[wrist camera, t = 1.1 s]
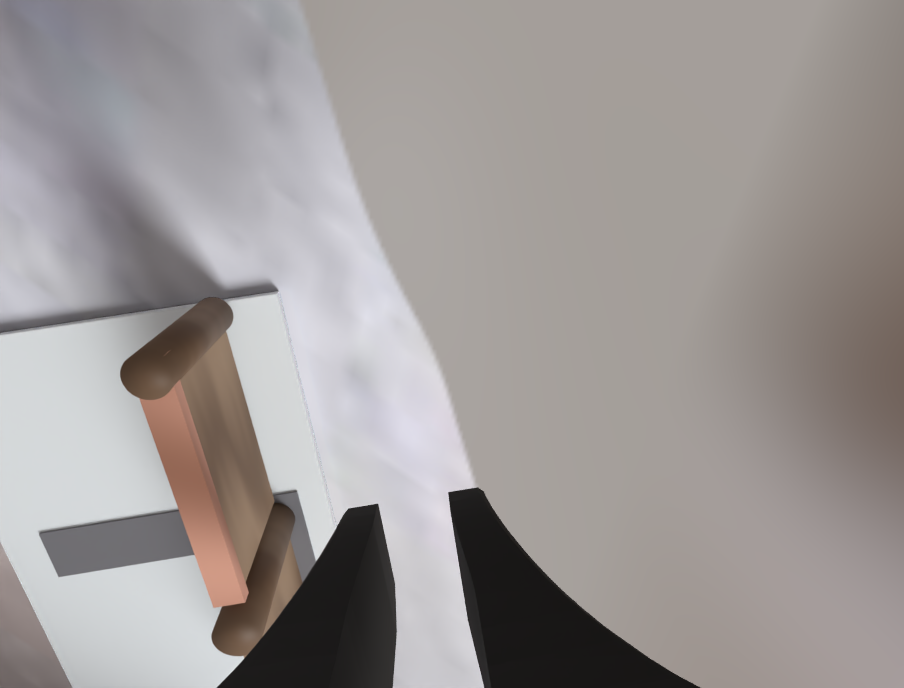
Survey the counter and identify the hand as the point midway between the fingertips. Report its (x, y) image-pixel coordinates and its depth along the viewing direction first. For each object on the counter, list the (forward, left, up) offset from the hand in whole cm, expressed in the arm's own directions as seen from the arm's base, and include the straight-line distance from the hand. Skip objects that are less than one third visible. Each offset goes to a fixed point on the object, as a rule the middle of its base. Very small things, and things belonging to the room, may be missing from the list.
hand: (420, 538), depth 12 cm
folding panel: (0, +6, -9) cm, 10 cm away
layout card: (-5, +10, -9) cm, 15 cm away
